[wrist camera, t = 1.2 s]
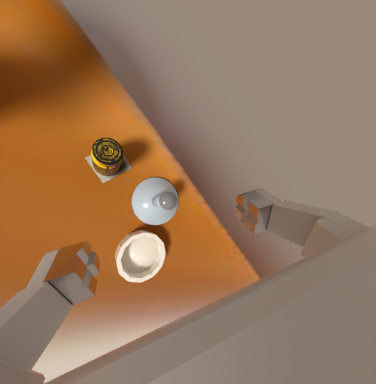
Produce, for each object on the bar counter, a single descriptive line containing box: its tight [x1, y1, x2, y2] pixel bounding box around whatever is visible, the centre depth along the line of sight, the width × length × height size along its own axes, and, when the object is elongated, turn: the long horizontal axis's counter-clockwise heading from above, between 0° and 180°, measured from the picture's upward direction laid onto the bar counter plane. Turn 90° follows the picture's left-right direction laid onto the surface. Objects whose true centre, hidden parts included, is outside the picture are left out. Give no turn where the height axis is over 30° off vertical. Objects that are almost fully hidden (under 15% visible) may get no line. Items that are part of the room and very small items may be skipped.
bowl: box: [115, 230, 166, 283], centre depth 40 cm, size 12×12×4 cm
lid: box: [132, 177, 178, 225], centre depth 41 cm, size 14×14×10 cm
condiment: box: [85, 138, 132, 183], centre depth 34 cm, size 7×8×12 cm
